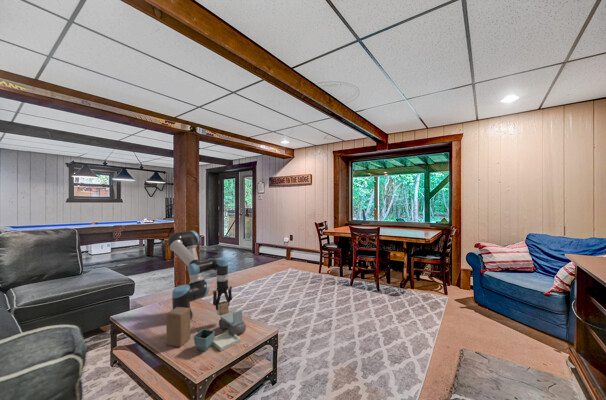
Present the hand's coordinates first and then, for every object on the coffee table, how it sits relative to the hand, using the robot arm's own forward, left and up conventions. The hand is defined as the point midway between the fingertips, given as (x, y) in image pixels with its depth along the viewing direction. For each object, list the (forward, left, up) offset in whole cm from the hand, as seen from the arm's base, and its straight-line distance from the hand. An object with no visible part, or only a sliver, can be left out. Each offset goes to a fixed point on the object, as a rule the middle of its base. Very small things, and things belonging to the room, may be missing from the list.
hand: (222, 312), depth 180 cm
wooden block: (0, -30, -8) cm, 31 cm away
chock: (0, 0, 0) cm, 0 cm away
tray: (+21, -10, -8) cm, 25 cm away
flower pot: (+18, -22, -8) cm, 30 cm away
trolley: (+12, 0, -8) cm, 15 cm away
